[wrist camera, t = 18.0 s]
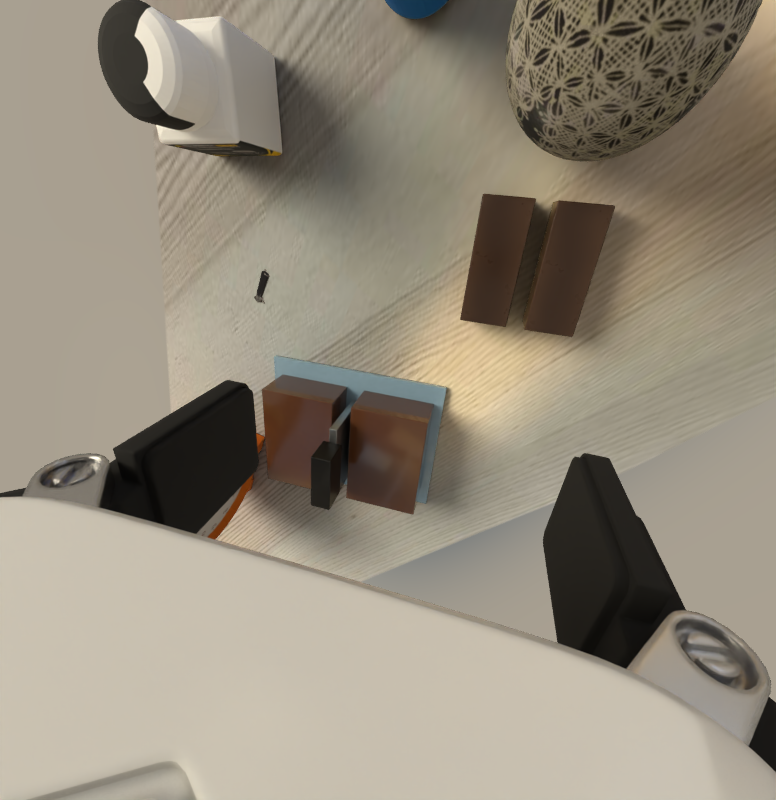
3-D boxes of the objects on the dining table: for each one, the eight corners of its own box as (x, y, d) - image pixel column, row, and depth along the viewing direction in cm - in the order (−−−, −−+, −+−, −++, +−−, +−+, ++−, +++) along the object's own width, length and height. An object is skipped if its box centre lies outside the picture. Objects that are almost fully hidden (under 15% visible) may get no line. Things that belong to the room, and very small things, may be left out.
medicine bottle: (216, 156, 36) (101, 131, 25) (201, 59, 33) (63, -15, 22) (284, 156, 34) (192, 128, 24) (275, 54, 31) (165, -29, 21)
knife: (237, 308, 43) (258, 323, 43) (235, 309, 42) (256, 323, 42) (253, 255, 40) (276, 270, 39) (251, 255, 39) (274, 271, 39)
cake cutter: (364, 401, 43) (330, 448, 34) (359, 465, 47) (329, 521, 38) (347, 397, 43) (310, 443, 34) (344, 461, 47) (310, 516, 38)
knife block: (605, 206, 30) (615, 205, 27) (566, 328, 35) (572, 337, 32) (483, 195, 32) (483, 193, 29) (462, 312, 36) (460, 320, 34)
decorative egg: (722, 64, 25) (969, -102, 12) (566, 206, 31) (619, 197, 18) (616, -91, 24) (769, -479, 10) (471, 88, 29) (451, -18, 16)
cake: (447, 386, 40) (441, 407, 36) (426, 501, 47) (419, 530, 43) (276, 355, 44) (251, 370, 39) (281, 466, 51) (261, 489, 46)
